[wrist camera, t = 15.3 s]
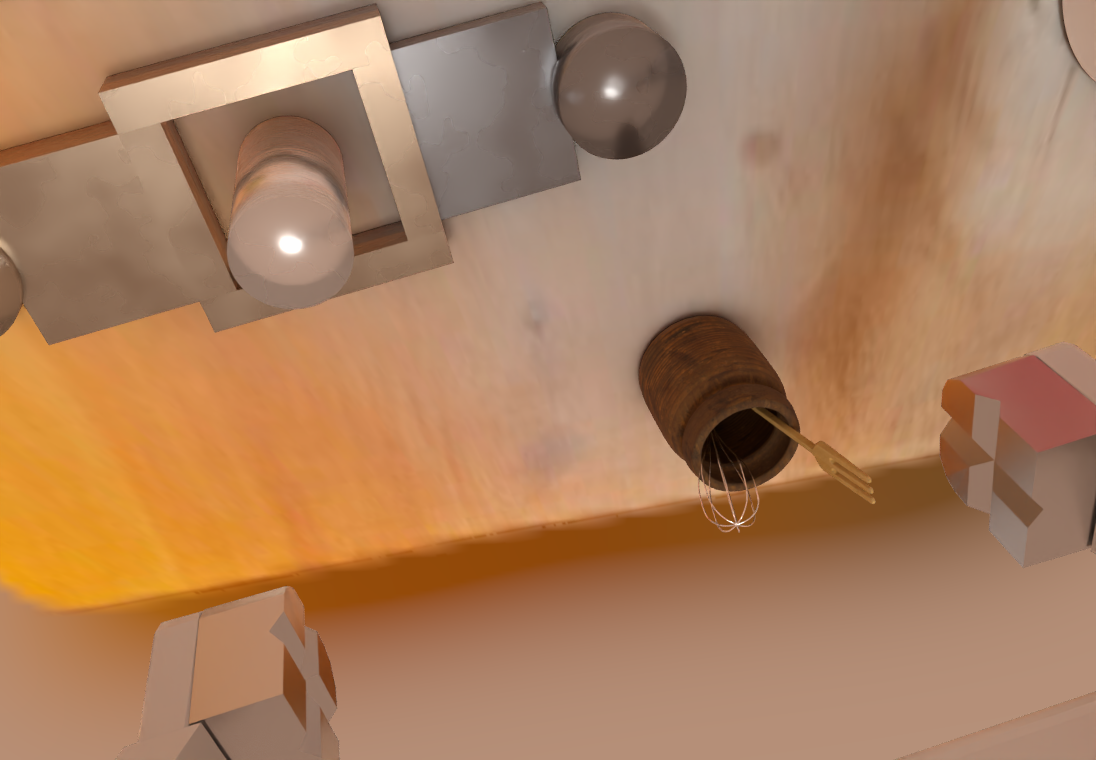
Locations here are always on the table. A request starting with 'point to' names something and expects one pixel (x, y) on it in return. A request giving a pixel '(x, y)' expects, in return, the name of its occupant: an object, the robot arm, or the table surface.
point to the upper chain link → (188, 191)
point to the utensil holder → (728, 410)
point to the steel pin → (290, 215)
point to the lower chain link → (514, 101)
